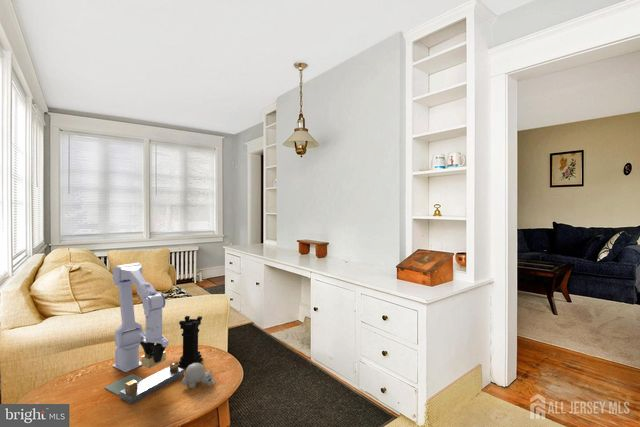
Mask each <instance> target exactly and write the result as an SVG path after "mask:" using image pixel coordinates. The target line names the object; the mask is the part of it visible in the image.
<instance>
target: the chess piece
mask: <svg viewBox="0 0 640 427" xmlns="http://www.w3.org/2000/svg"><path fill="white" fill-rule="evenodd" d="M202 320H203V316H199V315H198V316H197V317H196V318H191V317H190V315H186V316H184V320H179V321H178V325H179V326H180V328H179V329H180V330H182V333H181V337H182V355H181V356H180V358H179V361H178V367H179V368H181V369H187V368H188V366H189V365H191V364H193V363H200V364H201V363H202V361H203V360H204V358H203V357H202V356H203V354H201V351H199V332H200V329H199V326H200V325H202Z"/></svg>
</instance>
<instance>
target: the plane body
mask: <svg viewBox="0 0 640 427" xmlns="http://www.w3.org/2000/svg"><path fill="white" fill-rule="evenodd" d="M178 365H179V361H172V362H169V366H168V367H166V368H163V369H162V370H160V371H157V372H156V373H153V374H151V375H150V376H148V377H146V378H143V379H144V380H142V381H140V382H138V383H137V381H136V380H134V379H133V380H131V381H129V382H127V383H125V389H124V390H122V391H120V395H119V398H120V399H121V400H123V401H125V402H127V403H129V404H131V405H135V403H137V402H139V401H140V400H143V399H145V398H146V397H148V396H150V395H152V394H153V393H156V392H157V391H159V390H160V389H162V388H164V387H166V386H167V385H170V384H171V383H173V382H175V381H177V380H178V379H180V378H182V377H185V370H184V369H185V368H179V367H178Z"/></svg>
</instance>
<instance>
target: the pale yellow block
mask: <svg viewBox="0 0 640 427" xmlns="http://www.w3.org/2000/svg"><path fill="white" fill-rule="evenodd" d="M166 354H167V353H166V350H164V352H163V355H162V359H161V361H160V362H158V363H155V360H154V353H153V351H150V352H148V353H146V354H145V353H144V354H143V355H142V356H141V362H142V365H141V366H143V367H145V368H147V369H151V368H153V367H154V366H157V365H159V364H161V363H163V362H165V361H166V360H167V359H166V357H167V355H166Z"/></svg>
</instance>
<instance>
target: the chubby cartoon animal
mask: <svg viewBox="0 0 640 427" xmlns="http://www.w3.org/2000/svg"><path fill="white" fill-rule="evenodd" d="M185 369H186V370H185V371H184V376H183V378H182V380H181V385H183V386H188V387H189V389H193V390H194V389H195V388H196V386H197V384H198V383H199V382H201V383H202V384H205V385H206V386H208V387H212V385H213V384H214V383H215V382H216V378H214V379H213V374H212V372H213V370H210V371H206V370H205V367H204V365H203V364H201V362H200V363H193V364H191V365H189V366H188V368H185Z"/></svg>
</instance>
